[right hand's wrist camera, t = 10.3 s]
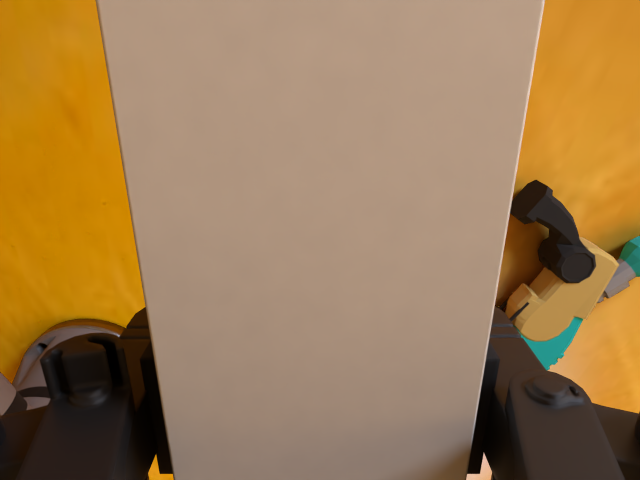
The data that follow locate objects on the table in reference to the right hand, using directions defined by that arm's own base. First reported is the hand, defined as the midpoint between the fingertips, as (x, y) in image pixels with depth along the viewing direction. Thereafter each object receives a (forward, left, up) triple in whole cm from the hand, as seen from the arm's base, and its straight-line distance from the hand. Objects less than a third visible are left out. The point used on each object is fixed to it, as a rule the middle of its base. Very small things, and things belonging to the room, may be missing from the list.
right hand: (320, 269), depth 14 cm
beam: (+22, +5, -1) cm, 23 cm away
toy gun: (-11, -23, -28) cm, 38 cm away
